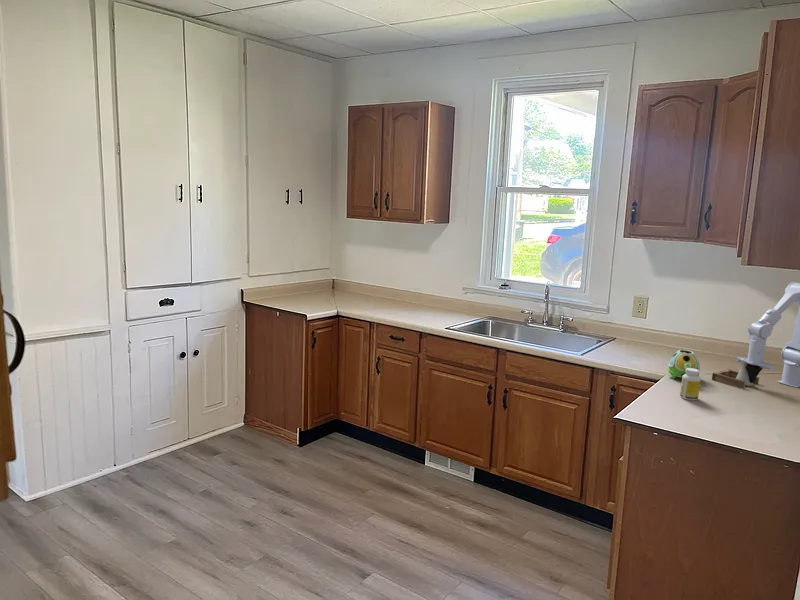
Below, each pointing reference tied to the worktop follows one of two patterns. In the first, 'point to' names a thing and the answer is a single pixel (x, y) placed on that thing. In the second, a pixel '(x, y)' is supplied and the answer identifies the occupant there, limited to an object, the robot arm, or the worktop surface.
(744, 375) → the flask
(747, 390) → the worktop surface
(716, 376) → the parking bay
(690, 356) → the turtle holder
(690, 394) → the pill bottle
